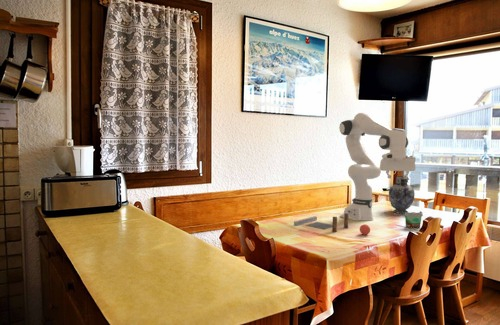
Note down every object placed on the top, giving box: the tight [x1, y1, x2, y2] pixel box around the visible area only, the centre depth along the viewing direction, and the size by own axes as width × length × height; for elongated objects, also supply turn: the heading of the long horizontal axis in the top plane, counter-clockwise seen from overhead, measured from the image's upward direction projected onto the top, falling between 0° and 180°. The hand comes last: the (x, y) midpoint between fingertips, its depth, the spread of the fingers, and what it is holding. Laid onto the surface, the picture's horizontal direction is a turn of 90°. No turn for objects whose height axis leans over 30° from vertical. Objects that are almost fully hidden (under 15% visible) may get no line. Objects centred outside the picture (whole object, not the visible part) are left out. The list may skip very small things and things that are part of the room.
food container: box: [404, 210, 424, 229], centre depth 241 cm, size 12×6×10 cm, turn 105°
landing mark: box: [305, 221, 332, 230], centre depth 241 cm, size 14×14×1 cm
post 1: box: [331, 216, 338, 233], centre depth 226 cm, size 3×3×9 cm
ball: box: [359, 224, 371, 236], centre depth 221 cm, size 6×6×6 cm
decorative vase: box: [388, 175, 415, 214], centre depth 292 cm, size 21×19×28 cm
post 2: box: [343, 212, 350, 229], centre depth 237 cm, size 3×3×9 cm
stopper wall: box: [293, 215, 318, 227], centre depth 249 cm, size 2×24×2 cm, turn 138°
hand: (397, 178), depth 226 cm, fingers open, 8 cm apart
